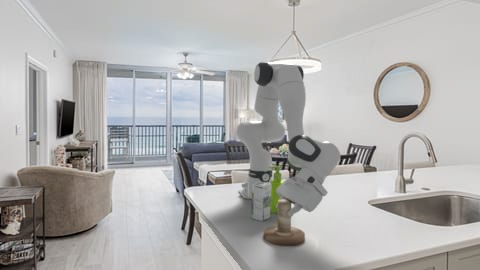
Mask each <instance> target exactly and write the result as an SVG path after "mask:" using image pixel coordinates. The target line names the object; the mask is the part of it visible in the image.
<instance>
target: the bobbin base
mask: <svg viewBox="0 0 480 270" xmlns="http://www.w3.org/2000/svg"><path fill="white" fill-rule="evenodd" d="M275 228H277V225H274V226H273V225H272V226H269V227H267V228H265V229H264V230H263V239H264V240H265V242H266V241H267V243H269V244H272V245H275V246H281V247H293V246H298V245H301V244H303V243H304V241H305V239H306V238H305V237H306V236H305V235H306V234H305V231H303V230H302V229H300V228H298V227H295V226H291V229H293V235H292V236H287V237H284V236H279V235H276V234H275Z"/></svg>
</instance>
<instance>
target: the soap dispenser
mask: <svg viewBox="0 0 480 270" xmlns="http://www.w3.org/2000/svg"><path fill="white" fill-rule="evenodd" d="M269 168H270V169H272V170H273V169H275V172H273V179H274V180H273V181H271V213H273V214H278V209H277V208H276V207H275V206H276V205H277V204H278V200H279V198H280V196H279V195H278V194H277V193H276V190H277V188H278V187H279V186H280V185H281V184H282V183H283V182H284V181H285V180H282V173H281V172H280V170H281V169H280V168H282V166H281V165H272V166H270V167H269Z"/></svg>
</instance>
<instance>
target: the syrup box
mask: <svg viewBox="0 0 480 270" xmlns="http://www.w3.org/2000/svg"><path fill="white" fill-rule="evenodd" d="M271 213H272V212H271V184H270V183H267V182H258V183H254V184H252V199H251V219H252V220H256V221H260V222H265V221H266V220H268V219H269V220H270V219H271V216H272V215H271Z"/></svg>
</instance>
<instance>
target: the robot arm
mask: <svg viewBox="0 0 480 270" xmlns="http://www.w3.org/2000/svg"><path fill="white" fill-rule="evenodd" d="M304 75H305V74H304V69H303V67H302V66H301V65H299V64H296V63H288V62H283V61H280V62H278V61H274V62H272V61H270V62H268V61H261V62H259V63H258V64H256V66H255V68H254V71H253V76H254V77H253V78H254V82H255V83H256V84H257V85H258V87H257V90H256V96H255V102H254V111H255V112H256V113H257V115H259V116H261V117H262V118H261V119H262V120H248V121H243V122H240V123H239V124H238V126H237V127H236V136H237V139H238V140H239V141H240V142H241V143H242V144H243V145H244V146H245V147H246V149H247V151H248V154H249V169H248V174H247V175H248V176H247V177H246V178H245V179H244V180H243V183H241V188H240V189H238V193H239V194H240V195H241V196H242V198H243V199H247V200H249V199H250V200H252V184H254V183H258V182H267V183H270V184H271V181H273V180H274V177H273V175H274V172H273V168H272V169H270V168H269V167H270V166H273V165H272V161H273V160H272V159H273V158H272V154H271V153H270V151H268V150H266V149H265V148H264V147H263V145H262V144H263V143H274V142H275V143H276V142H279V141H282V140H283V139H284V138H285V135H286V129H287V136H288V148H287V155H286V156H287V157H286V162H287V165H288V166H289V167H290V168H291V169H292V170H293V171H295V172H296V171H297V173H296V175H295V176H292V177H289V178H286V179H285V180H283V181H284V182H283V183H282V184H281V185H280V186H279V187H278V188H277V190H276V193H277V194H278V195H279V196H280V198H279V200H281V199H286V200H290V201H291V205H293V207H291V209H288V211H287V212H286V214H287V215H288V216H289V217H291V218H292V217H293V216H294V215H295V214H297V213H298V212H301V210H303V211H306V212H308V213H311V212H313V211H315V209H317V207H319V205H320V203H321V202H322V200H323V197H325V196H326V195H327V194H328V191H327V189H326V188H325V187H324V186H323V184H324V182H325V181H326V178H327V177H328V176H330V175H331V174H332V173H333V171H334V170H335V169H336V167H337V166H338V164H339V162H340V160H341V156H342V155H341V153H340V151H339V149H338V146H336V145H335V144H334V143H332V142H330V141H320V140H316V139H314V138H311V137H309V136H308V135H306V134H305V133H304V126H303V125H304V124H303V119H304V112H305V106H306V100H307V99H306V88H305V83H304ZM279 105H280V107H281V110H282V111H281V112H282V114H283V118H284V121H285V123H286V128H285V126H284V123H282V121H280V120H279V117H278V107H279ZM275 207H276V208H277V209H278V204H277V205H276V206H275Z"/></svg>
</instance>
